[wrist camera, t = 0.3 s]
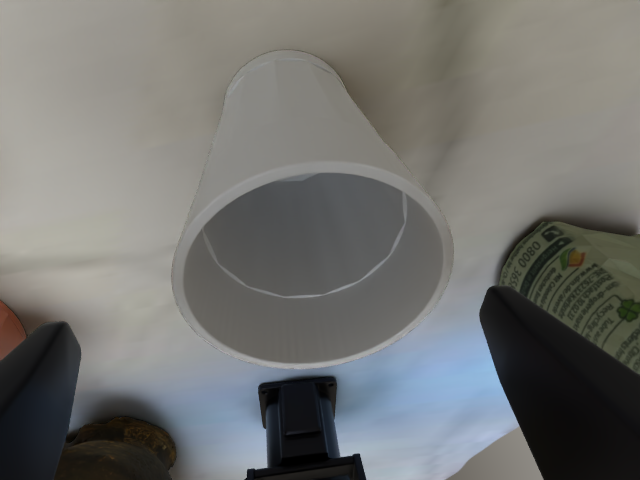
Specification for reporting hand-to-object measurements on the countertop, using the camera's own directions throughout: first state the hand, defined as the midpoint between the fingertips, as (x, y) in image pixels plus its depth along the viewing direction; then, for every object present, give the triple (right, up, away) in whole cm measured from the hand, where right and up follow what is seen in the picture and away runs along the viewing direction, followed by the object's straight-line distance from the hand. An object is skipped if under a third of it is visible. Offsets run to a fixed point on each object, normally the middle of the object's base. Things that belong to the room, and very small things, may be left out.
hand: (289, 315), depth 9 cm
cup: (-1, +8, +12) cm, 15 cm away
